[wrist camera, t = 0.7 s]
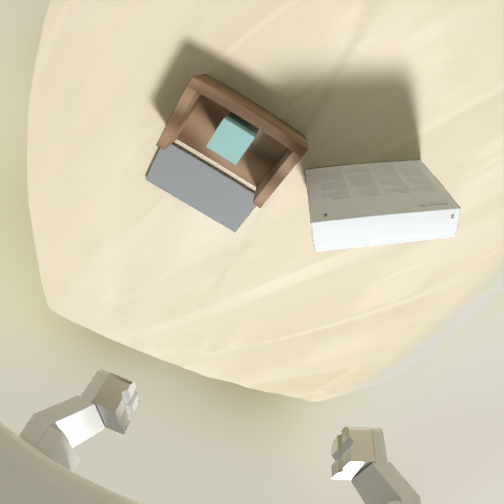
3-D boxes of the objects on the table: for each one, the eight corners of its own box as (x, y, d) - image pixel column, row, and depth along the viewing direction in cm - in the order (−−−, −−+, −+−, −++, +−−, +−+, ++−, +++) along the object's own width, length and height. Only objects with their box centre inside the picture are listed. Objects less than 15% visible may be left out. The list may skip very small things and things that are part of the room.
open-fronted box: (205, 74, 39) (192, 77, 34) (305, 137, 44) (307, 149, 39) (171, 133, 46) (156, 145, 41) (264, 189, 51) (260, 208, 46)
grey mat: (165, 139, 47) (164, 140, 46) (261, 197, 52) (261, 198, 51) (146, 178, 52) (145, 179, 51) (235, 230, 57) (235, 232, 56)
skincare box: (308, 197, 51) (312, 253, 38) (304, 168, 47) (308, 218, 35) (420, 187, 46) (456, 238, 33) (421, 159, 43) (462, 204, 30)
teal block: (233, 109, 42) (223, 118, 36) (260, 125, 43) (255, 137, 37) (217, 133, 45) (205, 146, 39) (243, 149, 46) (235, 165, 40)
